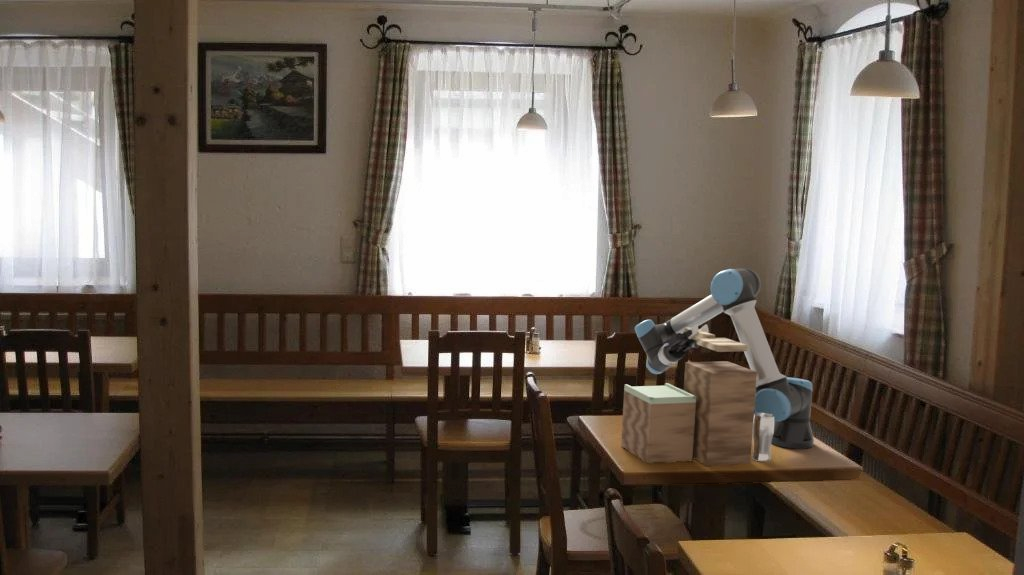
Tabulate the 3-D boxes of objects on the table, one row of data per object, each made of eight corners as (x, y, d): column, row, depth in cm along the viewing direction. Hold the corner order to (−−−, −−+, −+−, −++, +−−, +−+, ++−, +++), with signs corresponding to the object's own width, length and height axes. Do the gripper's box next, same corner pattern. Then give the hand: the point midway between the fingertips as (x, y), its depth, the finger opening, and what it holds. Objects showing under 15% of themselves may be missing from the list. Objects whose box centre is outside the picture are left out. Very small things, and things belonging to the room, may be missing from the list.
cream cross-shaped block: (674, 336, 350) (674, 327, 350) (701, 335, 354) (701, 327, 353) (717, 351, 322) (718, 342, 322) (747, 351, 325) (747, 341, 325)
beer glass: (772, 463, 330) (775, 418, 328) (750, 461, 331) (753, 416, 329) (771, 457, 336) (774, 413, 335) (749, 455, 338) (753, 411, 336)
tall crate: (679, 450, 341) (685, 362, 337) (722, 448, 346) (727, 361, 342) (706, 465, 324) (712, 373, 320) (750, 463, 329) (756, 372, 325)
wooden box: (621, 446, 342) (624, 390, 340) (663, 444, 347) (667, 388, 345) (647, 463, 323) (650, 404, 321) (692, 460, 328) (695, 402, 326)
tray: (624, 390, 340) (624, 384, 340) (667, 388, 345) (667, 383, 345) (650, 404, 321) (651, 397, 321) (695, 402, 326) (696, 396, 326)
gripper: (694, 361, 364) (725, 338, 344) (653, 362, 359) (682, 339, 338) (690, 341, 367) (721, 317, 346) (650, 342, 362) (678, 318, 341)
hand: (702, 328), depth 342 cm, fingers closed on cream cross-shaped block, 3 cm apart
